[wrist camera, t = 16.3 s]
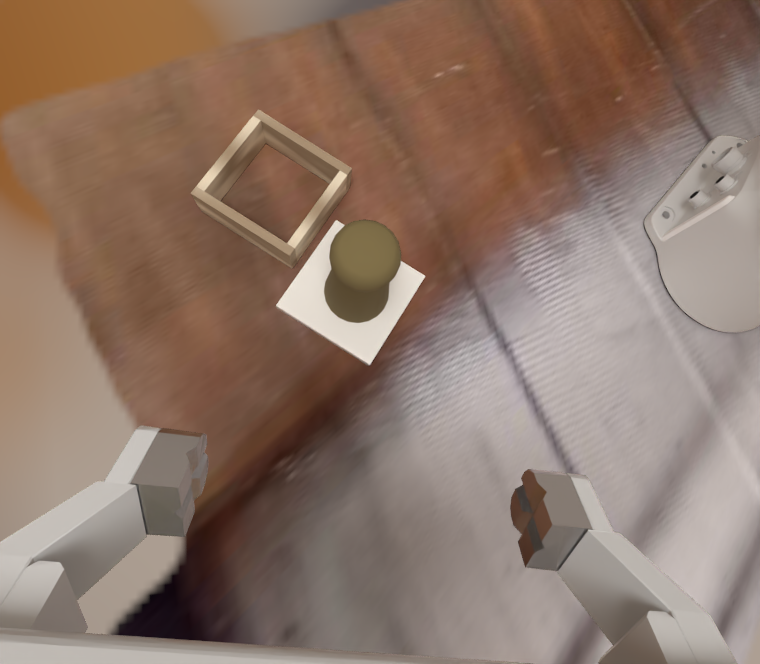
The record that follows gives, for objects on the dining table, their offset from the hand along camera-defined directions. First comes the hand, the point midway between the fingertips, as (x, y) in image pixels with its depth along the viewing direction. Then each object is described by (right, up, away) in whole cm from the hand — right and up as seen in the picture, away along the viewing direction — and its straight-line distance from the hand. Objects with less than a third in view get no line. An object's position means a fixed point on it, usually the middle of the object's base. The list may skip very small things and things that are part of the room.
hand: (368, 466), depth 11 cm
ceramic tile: (-2, +7, +31) cm, 32 cm away
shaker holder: (-10, +16, +32) cm, 37 cm away
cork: (-2, +7, +30) cm, 31 cm away
